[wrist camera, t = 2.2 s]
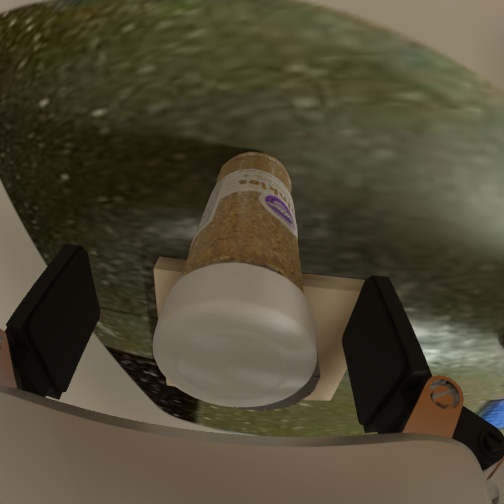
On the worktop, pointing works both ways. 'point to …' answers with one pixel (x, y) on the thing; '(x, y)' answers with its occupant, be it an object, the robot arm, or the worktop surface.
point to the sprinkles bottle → (240, 295)
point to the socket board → (325, 320)
